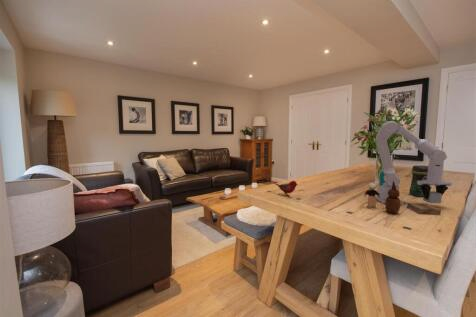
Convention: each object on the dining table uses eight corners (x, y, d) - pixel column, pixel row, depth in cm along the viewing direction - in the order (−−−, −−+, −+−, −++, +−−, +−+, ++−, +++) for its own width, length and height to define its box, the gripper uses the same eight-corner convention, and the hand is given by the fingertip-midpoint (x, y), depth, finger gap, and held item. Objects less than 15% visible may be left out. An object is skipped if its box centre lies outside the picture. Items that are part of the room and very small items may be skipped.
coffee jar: (415, 197, 130) (418, 166, 128) (406, 193, 138) (409, 164, 136) (433, 197, 129) (436, 166, 127) (422, 193, 137) (426, 164, 135)
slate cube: (429, 202, 111) (430, 193, 110) (423, 200, 116) (424, 190, 115) (440, 203, 110) (442, 193, 109) (433, 200, 115) (434, 191, 114)
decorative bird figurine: (295, 198, 125) (296, 181, 124) (271, 192, 139) (272, 177, 137) (298, 197, 127) (299, 181, 126) (274, 191, 140) (275, 176, 139)
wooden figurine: (385, 209, 109) (388, 179, 107) (399, 211, 105) (402, 181, 104) (383, 212, 104) (386, 181, 102) (398, 215, 100) (401, 183, 99)
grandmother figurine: (375, 206, 114) (377, 182, 112) (380, 208, 110) (382, 183, 108) (360, 206, 113) (362, 182, 112) (365, 208, 110) (367, 183, 108)
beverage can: (391, 195, 133) (393, 171, 131) (381, 195, 134) (383, 170, 132) (387, 193, 139) (389, 169, 137) (377, 192, 140) (378, 169, 138)
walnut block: (418, 214, 103) (419, 208, 102) (407, 208, 112) (407, 202, 111) (440, 215, 101) (441, 209, 101) (426, 209, 110) (427, 203, 110)
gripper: (424, 174, 108) (421, 200, 110) (457, 175, 106) (454, 202, 108) (415, 171, 115) (412, 196, 117) (446, 172, 113) (443, 197, 115)
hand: (432, 198), depth 113 cm, fingers closed on slate cube, 5 cm apart
